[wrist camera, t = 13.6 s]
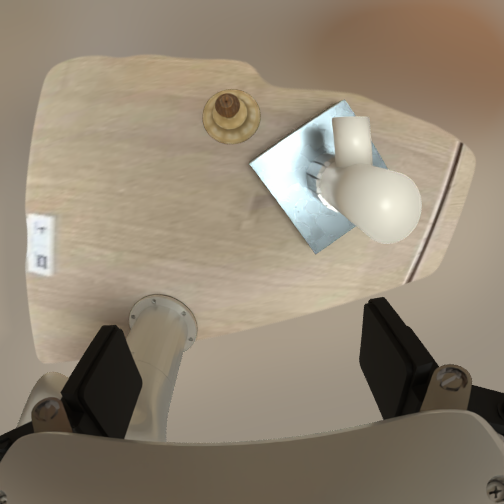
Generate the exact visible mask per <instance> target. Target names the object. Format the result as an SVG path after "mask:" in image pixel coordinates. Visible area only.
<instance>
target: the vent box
mask: <svg viewBox="0 0 504 504" xmlns="http://www.w3.org/2000/svg"><path fill="white" fill-rule="evenodd" d="M350 116H355V114H354V113H353V111H352V110H351V108H350V107H349V105H348V104H347V102H346V101H345V100H342V101H340V102H337V103H335V104H334V105H332V106H331V107H329V108H327V109H326V110H324V111H323V112H321V113H320V114H318V115H317V116H315V117H314V118H312V119H311V120H309V121H308V122H306V123H305V124H303V125H302V126H300V127H299V128H297V129H296V130H294V131H293V132H291V133H290V134H288V135H287V136H285V137H284V138H283V139H281V140H280V141H278V142H277V143H275V144H274V145H272V146H271V147H270V148H268V149H267V150H265V151H264V152H263V153H261V154H260V155H258V156H257V157H256V158H254V159H253V160H251V161H250V162H249V163H250V165H251V166H252V168H253V169H254V170H255V172H256V173H257V174H258V176H259V177H260V178H261V180H262V181H263V182H264V184H265V185H266V186H267V188H268V189H269V190H270V192H271V193H272V194H273V196H274V197H275V198H276V200H277V201H278V203H279V204H280V205H281V207H282V208H283V209H284V211H285V212H286V214H287V215H288V216H289V218H290V219H291V220H292V222H293V223H294V225H295V226H296V227H297V229H298V230H299V232H300V233H301V234H302V236H303V237H304V239H305V240H306V242H307V243H308V244H309V246H310V247H311V249H312V250H313V252H314V253H315V254H317V253H318V252H320V251H321V250H323V249H324V248H326V247H327V246H328V245H330V244H331V243H333V242H334V241H336V240H337V239H338V238H340V237H341V236H343V235H344V234H346V233H347V232H348V231H350V230H351V229H353V228H354V227H355V226H356V225H354V224H353V223H352V222H351V221H350V220H348V219H347V218H346V217H345V216H344V215H342V214H341V213H340V212H339V211H337V210H336V209H335V208H334V207H332V206H331V205H330V204H329V203H328V202H327V201H326V200H325V199H324V197H323V195H322V193H321V189H320V180H321V176H322V174H323V172H324V170H325V169H326V168H327V167H328V166H329V165H330V164H331V163H333V162H335V149H334V137H333V126H332V118H334V117H350ZM371 144H372V161H373V166H376V167H380V168H384V169H387V167H386V165H385V163H384V161H383V160H382V158H381V156H380V154H379V153H378V151H377V149H376V148H375V146H374V144H373V143H372V141H371Z"/></svg>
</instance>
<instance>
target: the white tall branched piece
mask: <svg viewBox="0 0 504 504" xmlns="http://www.w3.org/2000/svg"><path fill="white" fill-rule="evenodd" d="M332 126H333V137H334V149H335V162H333V163H331V164H330V165H329V166H328V167H327V168H326V169H325V170H324V172H323V174H322V176H321V180H320V189H321V193H322V195H323V197H324V199H325V200H326V201H327V202H328V203H329V204H330V205H331V206H332V207H334V208H335V209H336V210H337V211H339V212H340V213H341V214H342V215H344V216H345V217H346V218H347V219H348V220H350V221H351V222H352V223H353V224H354V225H356V226H357V227H358V228H359V229H360V230H362V231H363V232H364V233H365V234H366V235H367V236H369V237H370V238H371V239H373V240H374V241H376V242H379V243H383V244H392V243H396V242H399V241H401V240H403V239H404V238H406V237H407V236H408V235H409V234H410V233H411V232H412V231H413V230H414V228H415V227H416V225H417V223H418V221H419V218H420V215H421V208H422V202H421V196H420V192H419V190H418V188H417V186H416V184H415V183H414V182H413V181H412V180H411V179H410V178H409V177H408V176H406V175H404V174H402V173H399V172H395V171H391V170H388V169H384V168H380V167H376V166H373V161H372V144H371V130H370V119H369V117H362V116H350V117H334V118H332Z"/></svg>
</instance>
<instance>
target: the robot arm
mask: <svg viewBox="0 0 504 504" xmlns="http://www.w3.org/2000/svg"><path fill="white" fill-rule="evenodd" d="M184 311H185V312H184ZM129 326H130V332H129V334H128V336H127V338H125V336H124V333H123V331H122V329H119V328H118V327H117V326H116V325H105V326H102V327H101V329H100V330H99V332H98V333H97V335H96V336H95V338H94V339H93V341H92V342H91V344H90V345H89V347H88V348H87V350H86V352H85V353H84V355H83V356H82V358H81V359H80V361H79V363H78V364H77V366H76V367H75V369H74V371H73V372H72V374H71V376H70V377H69V378H68V377H66V376H64V375H62V374H60V373H57V372H49V373H46V374H44V375H43V376H42V377H41V378H40V379H39V380H38V381H37V383H36V384H35V386H34V387H33V389H32V391H31V393H30V395H29V397H28V400H27V402H26V404H25V407H24V409H23V412H22V414H21V417H20V420H19V422H18V425H17V427H16V429H13V430H11V431H9V432H7V433H5V434H3V435H1V436H0V504H504V393H501V392H497V391H494V390H490V389H486V388H482V387H478V386H474V385H472V378H471V375H470V373H469V372H468V371H467V370H466V369H464V368H463V367H461V366H458V365H454V364H447V365H443V366H440V367H439V366H438V364H437V363H436V362H435V360H434V359H433V357H432V356H431V355H430V353H429V352H428V351H427V349H426V348H425V347H424V345H423V344H422V343H421V341H420V340H419V338H418V337H417V336H416V335H415V333H414V332H413V330H412V329H411V328H410V327H408V326H406V325H405V323H404V322H403V321H402V319H401V318H400V317H399V315H398V314H397V313H396V311H395V310H394V309H393V308H392V306H391V305H390V304H389V302H388V301H387V300H386V299H385V298H384V297H380V298H374V299H370V300H369V301H368V303H367V304H365V305H364V314H363V326H362V337H361V347H360V357H359V362H360V366H361V369H362V371H363V373H364V376H365V378H366V380H367V382H368V385H369V387H370V389H371V391H372V394H373V396H374V398H375V401H376V403H377V405H378V408H379V410H380V412H381V415H382V417H383V420H382V421H377V422H374V423H369V424H364V425H359V426H355V427H349V428H344V429H340V430H334V431H328V432H323V433H316V434H310V435H304V436H296V437H288V438H278V439H268V440H258V441H244V442H221V443H175V442H166V427H167V418H168V412H169V407H170V402H171V398H172V394H173V390H174V386H175V382H176V378H177V374H178V370H179V366H180V362H181V358H182V354H183V352H185V351H187V350H188V349H189V348H190V347H191V346H192V345H193V343H194V341H195V339H196V336H197V323H196V320H195V318H194V316H193V314H192V313H191V311H190V310H189V309H188V308H187V307H186V306H185V305H184V304H182V303H181V302H179V301H178V300H176V299H174V298H171V297H168V296H164V295H151V296H147V297H144V298H142V299H141V300H139V301H138V302H137V303H136V304H135V305H134V307H133V308H132V310H131V312H130V316H129Z"/></svg>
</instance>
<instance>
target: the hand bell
mask: <svg viewBox="0 0 504 504" xmlns="http://www.w3.org/2000/svg"><path fill="white" fill-rule="evenodd" d="M259 123H260V109H259V106H258V104H257V102H256V101H255V100H254V99H253V98H252V96H250V95H249V94H247V93H246V92H243V91H240V90H236V89H228V90H224V91H221V92H219V93H217V94H215V95H214V96H212V97H211V98H210V99H209V101H208V102H207V103H206V105H205V108H204V111H203V124H204V127H205V129H206V131H207V132H208V134H209V135H210V136H211V137H212V138H214V139H215V140H217V141H219V142H221V143H224V144H238V143H241V142H244V141H246V140H247V139H249V138H250V137H251V136H252V135H253V134H254V133H255V132H256V130H257V128H258V126H259Z"/></svg>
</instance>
